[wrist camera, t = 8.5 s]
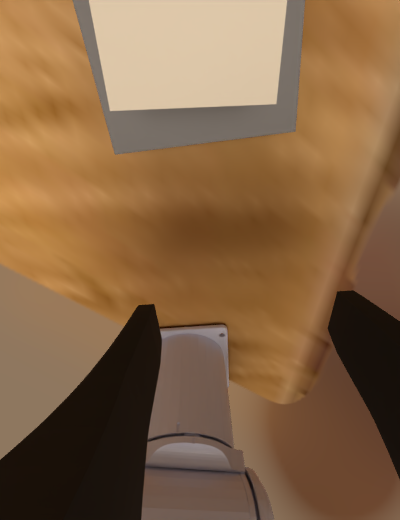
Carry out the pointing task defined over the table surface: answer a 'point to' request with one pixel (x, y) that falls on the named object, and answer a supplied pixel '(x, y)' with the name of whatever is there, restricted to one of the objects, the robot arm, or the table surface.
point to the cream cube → (189, 52)
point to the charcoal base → (201, 118)
